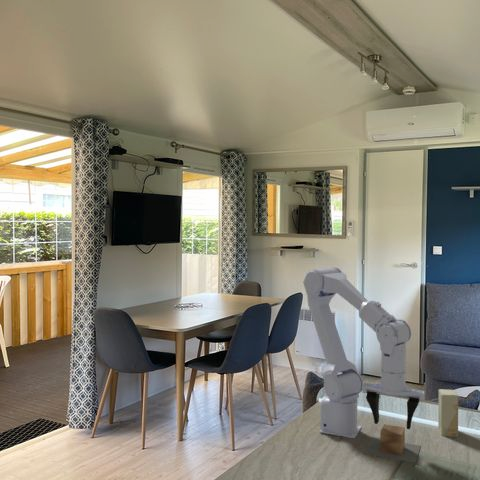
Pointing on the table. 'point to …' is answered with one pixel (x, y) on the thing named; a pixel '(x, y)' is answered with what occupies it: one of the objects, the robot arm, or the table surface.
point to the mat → (408, 454)
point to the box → (448, 413)
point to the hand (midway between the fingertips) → (392, 425)
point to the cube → (392, 439)
